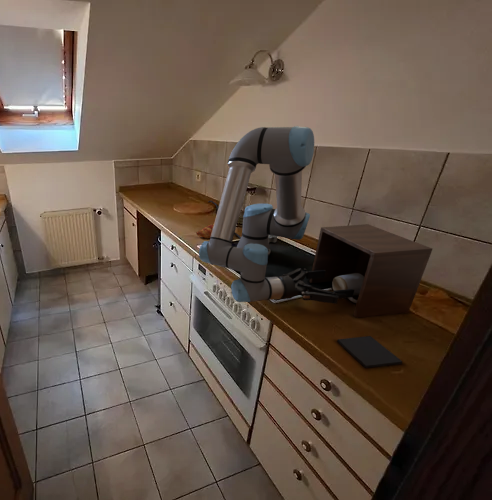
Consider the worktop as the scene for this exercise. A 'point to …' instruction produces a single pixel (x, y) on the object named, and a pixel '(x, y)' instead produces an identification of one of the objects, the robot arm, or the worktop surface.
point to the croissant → (206, 231)
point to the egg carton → (272, 238)
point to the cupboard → (373, 266)
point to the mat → (369, 352)
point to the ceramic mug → (349, 283)
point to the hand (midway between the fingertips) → (337, 282)
